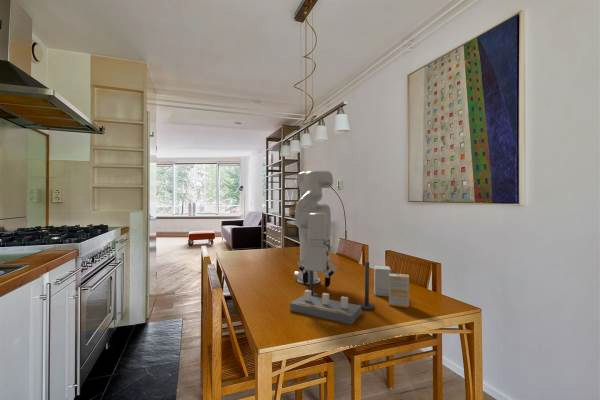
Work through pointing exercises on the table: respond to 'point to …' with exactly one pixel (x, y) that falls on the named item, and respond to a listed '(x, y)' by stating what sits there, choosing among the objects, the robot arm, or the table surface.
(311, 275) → the cord posts
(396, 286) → the supplement box
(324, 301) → the paddle mid
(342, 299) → the paddle right
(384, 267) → the supplement box
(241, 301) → the table surface
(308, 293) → the paddle left
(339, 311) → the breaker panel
